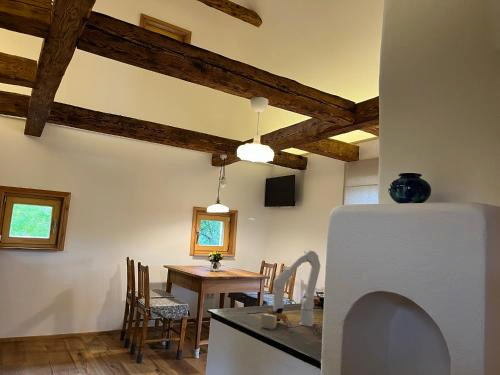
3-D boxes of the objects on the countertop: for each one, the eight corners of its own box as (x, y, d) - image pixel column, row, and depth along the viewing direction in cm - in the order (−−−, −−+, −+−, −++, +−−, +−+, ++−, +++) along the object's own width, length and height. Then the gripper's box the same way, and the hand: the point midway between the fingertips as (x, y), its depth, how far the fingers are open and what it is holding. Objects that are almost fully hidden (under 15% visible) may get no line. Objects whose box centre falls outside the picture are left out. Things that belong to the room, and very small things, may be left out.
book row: (265, 324, 221) (265, 312, 221) (276, 326, 218) (276, 313, 219) (260, 327, 214) (261, 314, 215) (272, 329, 211) (273, 316, 212)
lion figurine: (266, 324, 222) (265, 310, 221) (268, 320, 227) (267, 306, 226) (290, 327, 217) (290, 312, 216) (292, 322, 222) (291, 308, 221)
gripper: (276, 295, 234) (275, 317, 233) (268, 299, 221) (267, 323, 220) (286, 296, 231) (286, 319, 230) (279, 300, 218) (278, 324, 217)
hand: (277, 321), depth 225 cm, fingers closed, pressing on lion figurine
